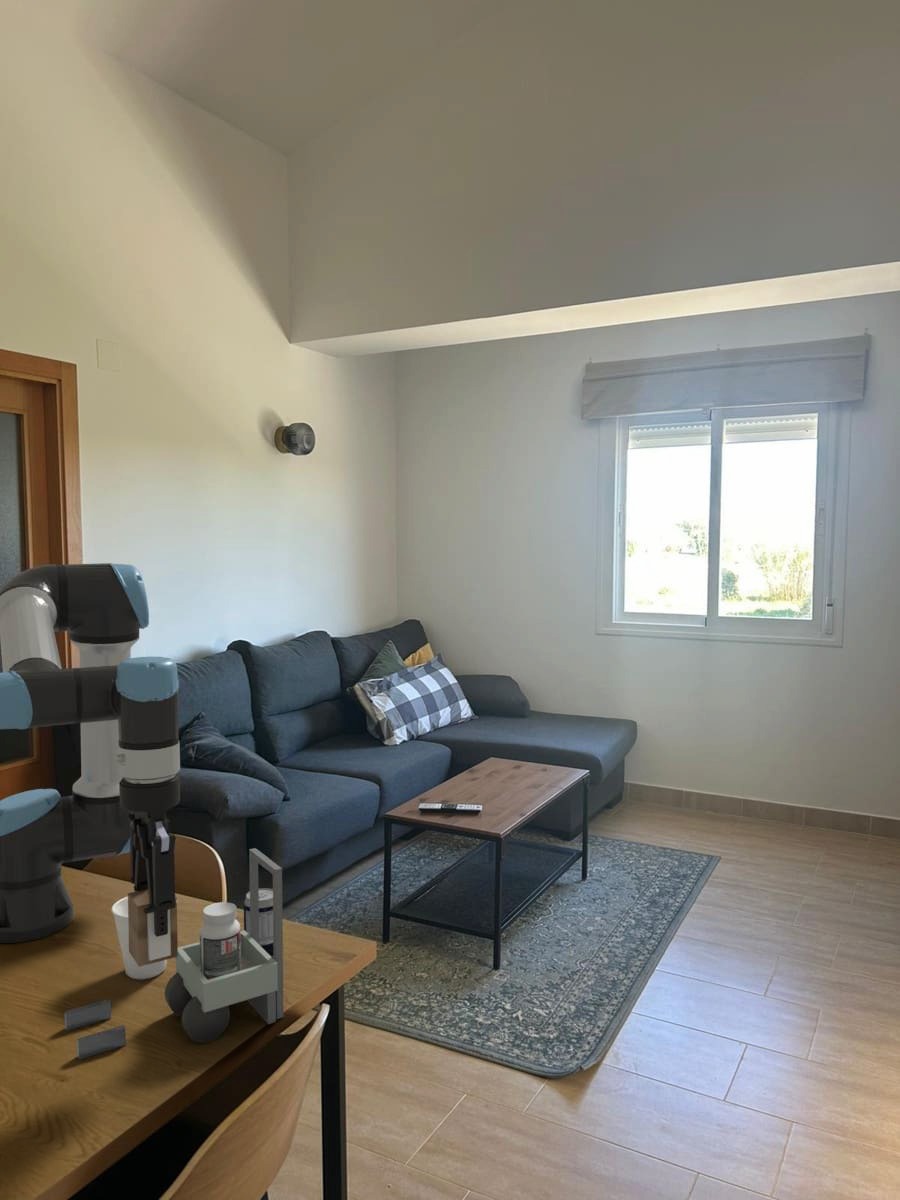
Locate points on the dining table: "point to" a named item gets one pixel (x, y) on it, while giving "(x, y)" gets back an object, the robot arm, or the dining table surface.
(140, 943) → the brown rectangular block
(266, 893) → the cylindrical canister
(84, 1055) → the grey blocks
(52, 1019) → the dining table surface
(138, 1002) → the dining table surface
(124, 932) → the cup
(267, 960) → the trolley
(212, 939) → the pill bottle
